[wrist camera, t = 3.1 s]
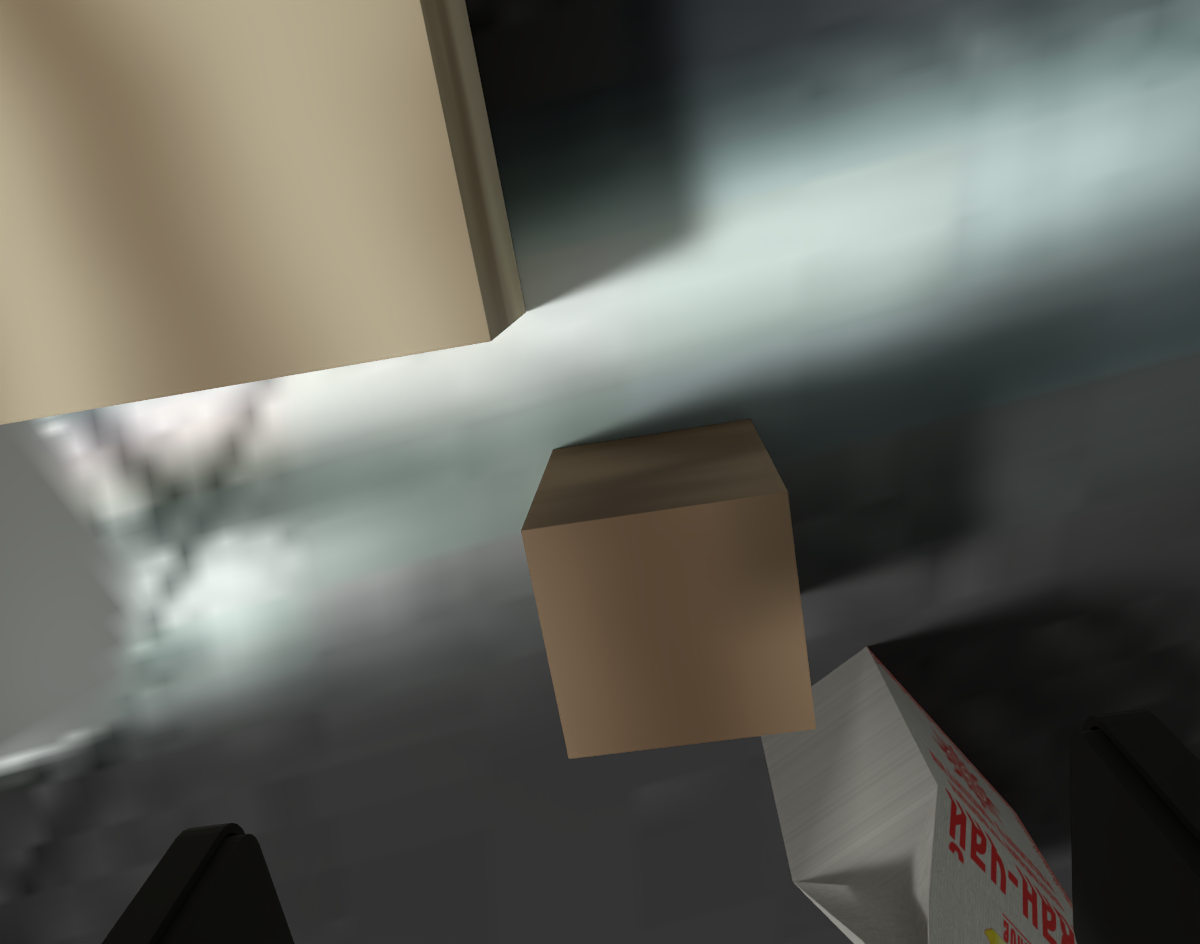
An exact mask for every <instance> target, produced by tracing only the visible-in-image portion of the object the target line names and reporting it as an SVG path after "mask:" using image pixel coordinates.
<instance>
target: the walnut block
mask: <svg viewBox="0 0 1200 944" xmlns="http://www.w3.org/2000/svg"><path fill="white" fill-rule="evenodd" d="M521 533H522V538H523V542H524V547H525V552H526V557H527V562H528V566H529V571H530V576H531V581H532V585H533V590H534V595H535V600H536V604H537V609H538V614H539V619H540V624H541V628H542V633H543V638H544V643H545V647H546V652H547V657H548V662H549V667H550V671H551V676H552V681H553V686H554V690H555V695H556V700H557V705H558V710H559V714H560V719H561V724H562V729H563V733H564V738H565V743H566V748H567V753H568V757H569V759H572V758H581V757H589V756H597V755H606V754H614V753H622V752H630V751H639V750H647V749H655V748H664V747H672V746H680V745H688V744H697V743H705V742H713V741H722V740H730V739H738V738H747V737H755V736H763V735H771V734H780V733H788V732H796V731H805V730H813V729H816V724H815V715H814V707H813V699H812V690H811V682H810V673H809V665H808V657H807V648H806V640H805V632H804V623H803V615H802V606H801V598H800V590H799V581H798V573H797V565H796V556H795V548H794V539H793V531H792V523H791V514H790V506H789V498H788V491H787V489H786V487H785V485H784V483H783V481H782V479H781V477H780V475H779V473H778V472H777V470H776V468H775V466H774V464H773V462H772V460H771V458H770V456H769V454H768V452H767V450H766V448H765V446H764V444H763V442H762V440H761V438H760V436H759V434H758V432H757V431H756V429H755V427H754V425H753V423H752V421H751V419H746V420H740V421H734V422H727V423H721V424H714V425H708V426H701V427H695V428H689V429H682V430H676V431H669V432H663V433H656V434H650V435H643V436H637V437H631V438H624V439H618V440H611V441H605V442H598V443H592V444H585V445H579V446H573V447H566V448H560V449H553V451H552V454H551V456H550V459H549V461H548V464H547V466H546V469H545V471H544V474H543V477H542V479H541V482H540V484H539V487H538V489H537V492H536V494H535V497H534V499H533V502H532V504H531V507H530V509H529V512H528V515H527V517H526V520H525V522H524V525H523V527H522V530H521Z"/></svg>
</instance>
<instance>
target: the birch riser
mask: <svg viewBox="0 0 1200 944" xmlns="http://www.w3.org/2000/svg"><path fill="white" fill-rule="evenodd" d="M524 313H526V310H525V305H524V300H523V295H522V290H521V285H520V279H519V274H518V269H517V264H516V259H515V254H514V249H513V244H512V239H511V233H510V228H509V223H508V218H507V213H506V208H505V203H504V198H503V192H502V187H501V182H500V177H499V172H498V167H497V162H496V157H495V152H494V146H493V141H492V136H491V131H490V126H489V121H488V116H487V111H486V106H485V100H484V95H483V90H482V85H481V80H480V75H479V70H478V65H477V59H476V54H475V49H474V44H473V39H472V34H471V29H470V24H469V19H468V13H467V8H466V3H465V0H0V425H1V424H7V423H13V422H19V421H25V420H31V419H37V418H42V417H48V416H54V415H60V414H66V413H72V412H78V411H84V410H89V409H95V408H101V407H107V406H113V405H119V404H125V403H131V402H136V401H142V400H148V399H154V398H160V397H166V396H172V395H178V394H183V393H189V392H195V391H201V390H207V389H213V388H219V387H225V386H231V385H236V384H242V383H248V382H254V381H260V380H266V379H272V378H278V377H283V376H289V375H295V374H301V373H307V372H313V371H319V370H325V369H330V368H336V367H342V366H348V365H354V364H360V363H366V362H372V361H377V360H383V359H389V358H395V357H401V356H407V355H413V354H419V353H424V352H430V351H436V350H442V349H448V348H454V347H460V346H466V345H472V344H477V343H483V342H489V341H492V340H493V339H494V338H495V337H497V336H498V335H499V334H500V333H501V332H503V331H504V330H505V329H506V328H507V327H509V326H510V325H511V324H512V323H514V322H515V321H516V320H517V319H518V318H520V317H521V316H522V315H523V314H524Z"/></svg>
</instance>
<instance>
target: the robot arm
mask: <svg viewBox="0 0 1200 944" xmlns="http://www.w3.org/2000/svg"><path fill="white" fill-rule="evenodd" d="M1070 784H1071V841H1072V899H1073V929H1074V934H1075V939H1076V942H1077V944H1200V761H1199V760H1198V759H1197V758H1196V757H1195V756H1194V755H1193V754H1192V753H1191V752H1190V751H1189V750H1188V749H1187V748H1186V747H1185V746H1184V745H1183V744H1182V743H1181V742H1180V741H1179V740H1178V739H1177V738H1176V737H1175V736H1174V735H1173V734H1172V733H1171V732H1170V731H1169V730H1168V729H1167V728H1166V727H1165V726H1164V725H1163V724H1162V723H1161V722H1160V721H1159V720H1158V719H1157V718H1156V717H1155V716H1154V715H1153V714H1152V713H1150V712H1149V711H1146V710H1134V711H1126V712H1118V713H1110V714H1102V715H1094V716H1090V717H1089V718H1087V720H1086V722H1085V725H1084V731H1079V732H1074V733H1073V734H1072V735H1071V738H1070ZM102 944H294V941H293V938H292V936H291V933H290V930H289V927H288V924H287V921H286V919H285V916H284V913H283V910H282V907H281V904H280V902H279V899H278V896H277V893H276V890H275V888H274V885H273V882H272V879H271V876H270V873H269V871H268V868H267V865H266V862H265V859H264V856H263V854H262V851H261V848H260V845H259V843H258V841H257V839H256V837H254V836H253V835H252V834H245V833H244V831H243V829H242V828H241V827H240V826H239V825H238V824H234V823H228V824H220V825H212V826H204V827H196V828H189V829H187V830H184V831H183V832H182V833H181V834H180V835H179V836H178V837H177V838H176V839H175V841H174V842H173V844H172V845H171V846H170V848H169V849H168V851H167V852H166V854H165V855H164V856H163V858H162V859H161V861H160V862H159V863H158V865H157V866H156V868H155V869H154V870H153V872H152V873H151V875H150V876H149V878H148V879H147V880H146V882H145V883H144V885H143V886H142V887H141V889H140V890H139V892H138V893H137V894H136V896H135V897H134V899H133V900H132V902H131V903H130V904H129V906H128V907H127V909H126V910H125V911H124V913H123V914H122V916H121V917H120V918H119V920H118V921H117V923H116V924H115V926H114V927H113V928H112V930H111V931H110V933H109V934H108V935H107V937H106V938H105V940H104V941H103V942H102Z"/></svg>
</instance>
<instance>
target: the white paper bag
mask: <svg viewBox="0 0 1200 944" xmlns="http://www.w3.org/2000/svg"><path fill="white" fill-rule="evenodd" d="M811 690H812V699H813V707H814V715H815V724H816V729H813V730H805V731H796V732H788V733H780V734H771V735H763V736H761V739H762V743H763V748H764V752H765V757H766V761H767V766H768V770H769V775H770V780H771V784H772V789H773V793H774V798H775V802H776V807H777V811H778V816H779V821H780V825H781V830H782V834H783V839H784V843H785V848H786V852H787V857H788V862H789V866H790V871H791V875H792V880H793V882H794V883H795V884H796V885H797V886H798V887H799V888H800V889H801V890H802V892H803V893H804V894H805V895H806V896H807V897H808V898H809V899H810V900H811V901H812V902H813V903H814V904H815V905H816V906H817V907H818V908H819V909H820V910H821V911H822V912H823V913H824V914H825V915H826V916H827V917H828V918H829V919H830V920H831V921H832V922H833V923H834V924H835V925H836V926H837V927H838V928H839V929H840V930H841V931H842V932H843V933H844V934H845V935H846V936H847V937H848V938H849V939H850V940H851V941H852V942H853V943H854V944H1077V942H1076V939H1075V934H1074V929H1073V904H1072V903H1071V901H1070V899H1069V898H1068V896H1067V895H1066V893H1065V891H1064V890H1063V888H1062V886H1061V885H1060V883H1059V882H1058V880H1057V878H1056V877H1055V875H1054V874H1053V872H1052V870H1051V869H1050V867H1049V865H1048V864H1047V862H1046V861H1045V859H1044V857H1043V856H1042V854H1041V852H1040V851H1039V849H1038V848H1037V846H1036V844H1035V843H1034V841H1033V839H1032V838H1031V836H1030V835H1029V833H1028V831H1027V830H1026V828H1025V827H1024V825H1023V823H1022V822H1021V820H1020V818H1019V817H1018V815H1017V814H1016V812H1015V811H1014V810H1013V809H1012V807H1011V806H1010V805H1009V804H1008V803H1007V802H1006V801H1005V800H1004V799H1003V797H1002V796H1001V795H1000V794H999V793H998V792H997V791H996V790H995V789H994V787H993V786H992V785H991V784H990V783H989V782H988V781H987V780H986V779H985V777H984V776H983V775H982V774H981V773H980V772H979V771H978V770H977V769H976V767H975V766H974V765H973V764H972V763H971V762H970V761H969V760H968V759H967V757H966V756H965V755H964V754H963V753H962V752H961V751H960V750H959V749H958V747H957V746H956V745H955V744H954V743H953V742H952V741H951V740H950V738H949V737H948V736H947V735H946V734H945V733H944V732H943V731H942V730H941V728H940V727H939V726H938V725H937V724H936V723H935V722H934V721H933V720H932V718H931V717H930V716H929V715H928V714H927V713H926V712H925V711H924V710H923V708H922V707H921V706H920V705H919V704H918V703H917V702H916V701H915V700H914V698H913V697H912V696H911V695H910V694H909V693H908V692H907V691H906V690H905V688H904V687H903V686H902V685H901V684H900V683H899V682H898V681H897V680H896V678H895V677H894V676H893V675H892V674H891V673H890V672H889V671H888V670H887V668H886V667H885V666H884V665H883V664H882V663H881V662H880V661H879V659H878V658H877V657H876V656H875V655H874V654H873V653H872V652H871V651H870V649H869V648H868V647H865V648H864V649H863V650H861V651H860V652H859V653H857V654H856V655H854V656H853V657H852V658H850V659H849V660H847V661H846V662H845V663H843V664H842V665H841V666H839V667H838V668H836V669H835V670H834V671H832V672H831V673H830V674H828V675H827V676H825V677H824V678H823V679H821V680H820V681H819V682H817V683H816V684H814V685H813V686H812V687H811Z"/></svg>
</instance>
